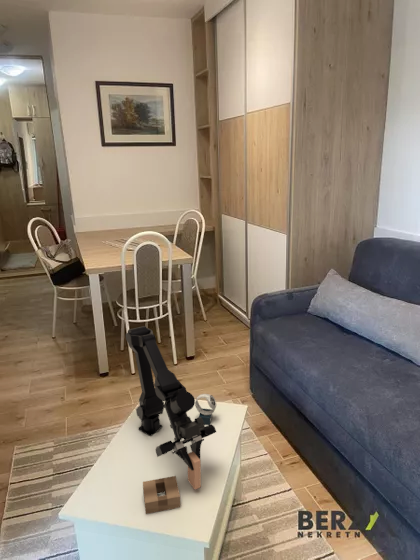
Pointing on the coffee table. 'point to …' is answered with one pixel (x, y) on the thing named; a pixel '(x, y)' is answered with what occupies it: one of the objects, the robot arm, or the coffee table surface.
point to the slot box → (161, 502)
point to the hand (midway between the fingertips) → (196, 468)
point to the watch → (206, 413)
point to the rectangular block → (194, 471)
